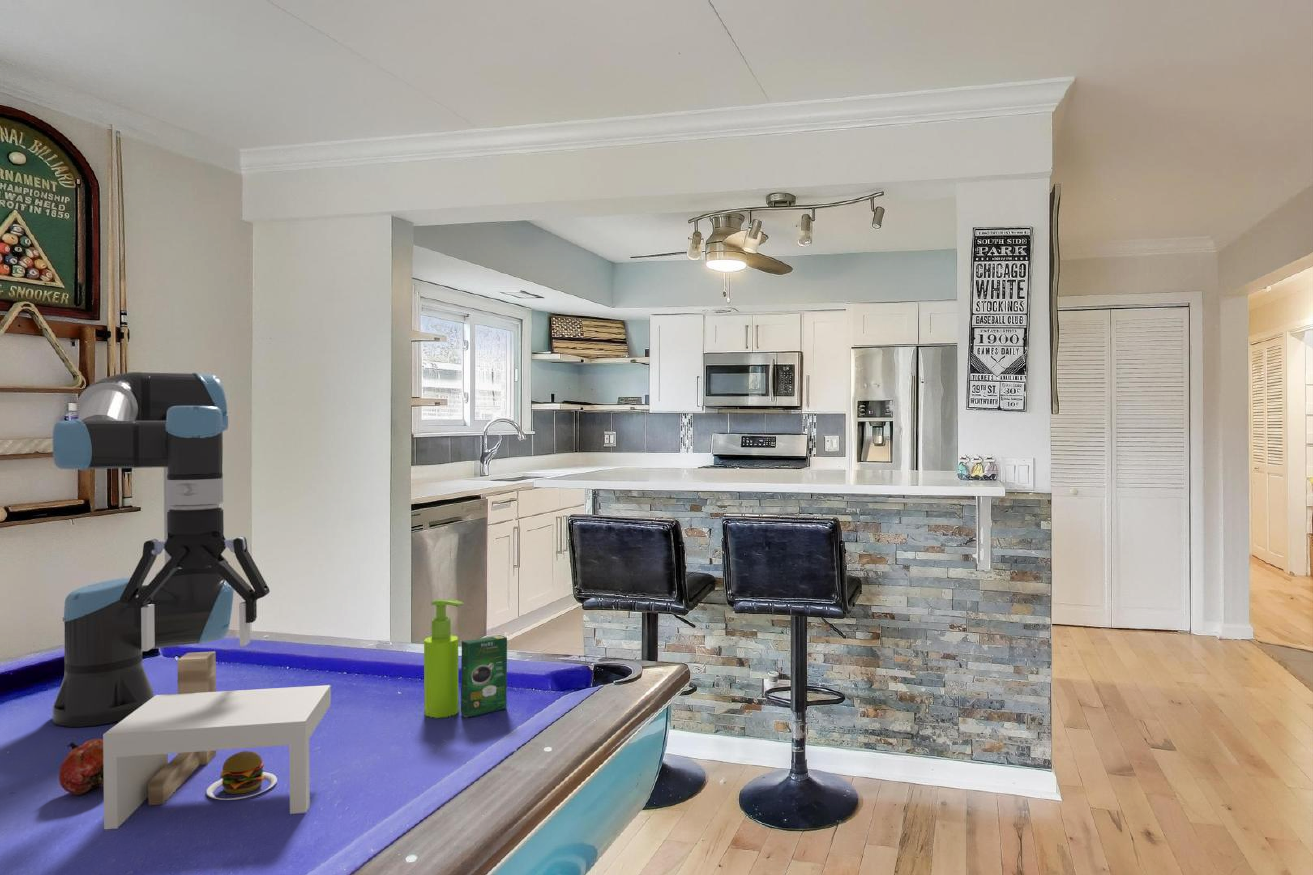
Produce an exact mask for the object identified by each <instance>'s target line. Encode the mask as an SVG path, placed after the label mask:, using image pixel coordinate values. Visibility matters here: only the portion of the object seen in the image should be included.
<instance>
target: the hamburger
mask: <svg viewBox="0 0 1313 875" xmlns="http://www.w3.org/2000/svg"><path fill="white" fill-rule="evenodd" d="M264 766H265V765H264V763H263V759H262V757H261V755H259V753H256V752H255V751H252V750H251V751H250V750H245V751H239V752H237V753H234V754H232V755H230V756H229V757H228V758H226V760H225V761H224V763H223V765H222V771H221V773H220V776H219V778H220V779H219V780H216V781H215V782H214V783H211V784H210V785H209V786H208V788H206V796H208V797H209V798H211V799H215V800H222V801H235V800H236V801H237V800H242V799H247V798H251V797H254V796H257V795H260V794H262V793H264V792H266V791H268V790H270V789H272V787H274V786H275V785H276V784H277V782H278V778H277V777H276V775H275V774H273V773H271V772H265V771H264V769H263V768H264ZM265 779H266V780H268V781H269V782H270V785H269V786H268V787H267V788H266V789H265V790H262V791H260V792H257V793H254V794H250V795H246V796H240V797H234V798H233V797H231V798H221V797H218V796H215V795H214V791H215V790H216V789H217V787H218V788H219V787H221V786H222V788H223V790H224V791H225V792H226V793H227V794H231V795H240V794H241V795H242V794H246V793H250V792H253V791H256V790H257V789H258V788H259V787H261V785H262V784H263V783H262V782H263V781H264V780H265Z"/></svg>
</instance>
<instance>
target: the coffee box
mask: <svg viewBox="0 0 1313 875" xmlns="http://www.w3.org/2000/svg"><path fill="white" fill-rule="evenodd" d="M460 658H461V664H460V665H461V666H460V667H461V668H460V670H461V671H460V673H461V674H460V714H461V716H463V717H464V718H471V717H477V716H478V717H479V715H484V714H487V713H493V712H498V711H501V710H507V705H508V699H507V698H508V696H507V693H508V692H507V690H508V689H507V687H508V686H507V685H508V684H507V683H508V682H507V681H508V680H507V677H508V676H507V675H508V673H507V672H508V638H507V637H506V636H504V635H494V636H486V637H480V638H475V639H468V640H462V641H461V657H460Z"/></svg>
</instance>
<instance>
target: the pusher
mask: <svg viewBox="0 0 1313 875" xmlns="http://www.w3.org/2000/svg"><path fill="white" fill-rule="evenodd" d="M216 657H217V656H216V651H199V652H187V653H185V654H184V655H182V656H181V657H179V658H178V659H177V694H185V693H203V692H217V687H216V686H217V679H216V678H217V674H216V673H217V672H216V670H217V668H216V666H217V665H216V664H217V663H216ZM216 756H217V750H213V751H198V752H184V753H177V754H176V755H175V757H173V758H172V759H171V760H170V761H168V764H167V765H166V766H165V767H164V768H163V769H162V770H161V771H160V772H159V773H158V774H157V775H156V776H155V777H154V778H153V779H152V780H151V781H150V782H149V783H148V798H147V799H148V806H155V805H156V806H157V805H163V804H165V803H166V802H167V801H168V800H169V799H170V797H171V796H172V795H173V794H174V793H175V792H176V791H177V790H178V789H179V788H180V787H181V785H183V783H184V782H185V781H186V780H187V779H188V778H190V776H191V775H192V774H193V773H194V771H195V770H197V768H199V766H204V765H205V766H206V765H208V764H210V762H211V761H212V760H213V759H214V758H215V757H216ZM178 787H179V788H178ZM177 788H178V789H177ZM176 789H177V790H176ZM173 792H174V793H173ZM166 800H167V801H166ZM165 801H166V802H165ZM164 802H165V803H164Z"/></svg>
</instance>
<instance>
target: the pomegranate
mask: <svg viewBox="0 0 1313 875" xmlns="http://www.w3.org/2000/svg"><path fill="white" fill-rule="evenodd" d="M66 747H67V748H69V747H71V751H70V752H68V754H67V756H66V758H65V759H64V761H63V762H62V763H61V765H60V767H59V772H58V780H59V784H60V785H61V788H62V789H64V791H65V792H67V793H70V794H72V795H74V796H81V795H83V794H85V793H87V792H88V791H90V790H93V789H96V788H99V787H101V786H103V787H104V764H103V738H102V739H101V738H95V739H89V740H87V741H85V742H84V743H83V744H82V745H77V744H75V742H74V741H73V742H70V743H69V744H68V745H66Z"/></svg>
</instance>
